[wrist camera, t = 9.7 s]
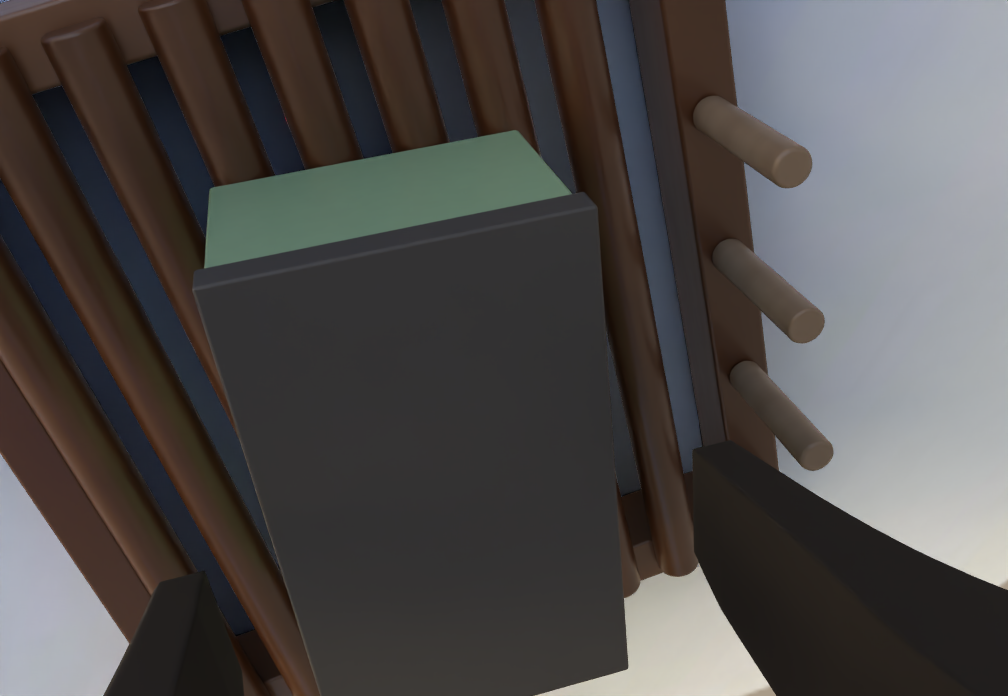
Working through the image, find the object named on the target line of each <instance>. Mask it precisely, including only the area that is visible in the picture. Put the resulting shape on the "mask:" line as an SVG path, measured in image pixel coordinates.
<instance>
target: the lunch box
mask: <svg viewBox="0 0 1008 696" xmlns="http://www.w3.org/2000/svg"><path fill="white" fill-rule="evenodd" d="M192 292H193V295H194V298H195V301H196V304H197V308H198V311H199V314H200V317H201V320H202V323H203V327H204V330H205V333H206V336H207V339H208V342H209V345H210V349H211V352H212V355H213V358H214V361H215V364H216V368H217V371H218V374H219V377H220V380H221V383H222V387H223V390H224V393H225V396H226V399H227V402H228V405H229V409H230V412H231V415H232V418H233V421H234V424H235V428H236V431H237V434H238V437H239V440H240V443H241V447H242V450H243V453H244V456H245V459H246V462H247V465H248V469H249V472H250V475H251V478H252V481H253V484H254V488H255V491H256V494H257V497H258V500H259V503H260V507H261V510H262V513H263V516H264V519H265V522H266V525H267V529H268V532H269V535H270V538H271V541H272V544H273V548H274V551H275V554H276V557H277V560H278V563H279V567H280V570H281V573H282V576H283V579H284V582H285V585H286V589H287V592H288V595H289V598H290V601H291V604H292V608H293V611H294V614H295V617H296V620H297V623H298V626H299V630H300V633H301V636H302V639H303V642H304V645H305V649H306V652H307V655H308V658H309V661H310V664H311V668H312V671H313V674H314V677H315V680H316V683H317V686H318V690H319V693H320V696H535V695H538V694H542V693H545V692H549V691H552V690H556V689H559V688H563V687H567V686H570V685H574V684H577V683H581V682H584V681H588V680H591V679H595V678H599V677H602V676H606V675H609V674H613V673H616V672H620V671H623V670H627V669H628V654H627V639H626V624H625V609H624V594H623V579H622V564H621V549H620V535H619V520H618V505H617V490H616V475H615V460H614V445H613V431H612V416H611V401H610V386H609V371H608V356H607V341H606V326H605V312H604V297H603V282H602V267H601V252H600V237H599V222H598V207H597V206H596V204H595V203H594V202H593V201H592V200H591V199H590V198H589V196H588V195H587V194H586V193H585V192H580V193H575V194H572V193H571V192H570V190H569V189H568V188H567V187H566V186H565V185H564V183H563V182H562V181H561V180H560V179H559V178H558V176H557V175H556V174H555V173H554V172H553V171H552V170H551V168H550V167H549V166H548V165H547V164H546V163H545V161H544V160H543V159H542V158H541V157H540V156H539V155H538V153H537V152H536V151H535V150H534V149H533V148H532V146H531V145H530V144H529V143H528V142H527V141H526V140H525V138H524V137H523V136H522V135H521V134H520V133H519V131H517V130H513V131H508V132H503V133H497V134H492V135H487V136H482V137H476V138H471V139H466V140H461V141H455V142H450V143H445V144H439V145H434V146H429V147H424V148H418V149H413V150H408V151H403V152H397V153H392V154H387V155H382V156H376V157H371V158H366V159H361V160H355V161H350V162H345V163H340V164H334V165H329V166H324V167H319V168H313V169H308V170H303V171H297V172H292V173H287V174H282V175H276V176H271V177H266V178H261V179H255V180H250V181H245V182H240V183H234V184H229V185H224V186H219V187H213V188H211V189H210V190H209V203H208V218H207V233H206V249H205V264H204V269H199V270H196V271H194V275H193V287H192Z"/></svg>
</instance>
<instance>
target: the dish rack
mask: <svg viewBox="0 0 1008 696" xmlns="http://www.w3.org/2000/svg"><path fill="white" fill-rule="evenodd" d="M332 1H335V0H9V1H6V2H3V3H0V179H1V181H2V182H3V184H4V186H5V188H6V190H7V191H8V193H9V195H10V197H11V198H12V200H13V202H14V204H15V205H16V207H17V209H18V211H19V213H20V214H21V216H22V218H23V220H24V221H25V223H26V225H27V227H28V228H29V230H30V232H31V234H32V236H33V237H34V239H35V241H36V243H37V244H38V246H39V248H40V250H41V251H42V253H43V255H44V257H45V258H46V260H47V262H48V264H49V266H50V267H51V269H52V271H53V273H54V274H55V276H56V278H57V280H58V281H59V283H60V285H61V287H62V289H63V290H64V292H65V294H66V296H67V297H68V299H69V301H70V303H71V304H72V306H73V308H74V310H75V311H76V313H77V315H78V317H79V319H80V320H81V322H82V324H83V326H84V327H85V329H86V331H87V333H88V334H89V336H90V338H91V340H92V342H93V343H94V345H95V347H96V349H97V350H98V352H99V354H100V356H101V357H102V359H103V361H104V363H105V364H106V366H107V368H108V370H109V372H110V373H111V375H112V377H113V379H114V380H115V382H116V384H117V386H118V387H119V389H120V391H121V393H122V395H123V396H124V398H125V400H126V402H127V403H128V405H129V407H130V409H131V410H132V412H133V414H134V416H135V418H136V419H137V421H138V423H139V425H140V426H141V428H142V430H143V432H144V433H145V435H146V437H147V439H148V440H149V442H150V444H151V446H152V448H153V449H154V451H155V453H156V455H157V456H158V458H159V460H160V462H161V463H162V465H163V467H164V469H165V471H166V472H167V474H168V476H169V478H170V479H171V481H172V483H173V485H174V486H175V488H176V490H177V492H178V493H179V495H180V497H181V499H182V501H183V502H184V504H185V506H186V508H187V509H188V511H189V513H190V515H191V516H192V518H193V520H194V522H195V524H196V525H197V527H198V529H199V531H200V532H201V534H202V536H203V538H204V539H205V541H206V543H207V545H208V546H209V548H210V550H211V552H212V554H213V555H214V557H215V559H216V561H217V562H218V564H219V566H220V568H221V569H222V571H223V573H224V575H225V577H226V578H227V580H228V582H229V584H230V585H231V587H232V589H233V591H234V592H235V594H236V596H237V598H238V600H239V601H240V603H241V605H242V607H243V608H244V610H245V612H246V614H247V615H248V617H249V619H250V621H251V622H252V624H253V626H254V628H255V630H252V631H250V632H247V633H244V634H241V635H238V636H235V634H234V632H233V631H232V629H231V627H230V626H229V624H228V622H227V621H226V619H225V617H224V615H223V614H222V612H221V610H220V609H219V611H220V614H221V616H222V619H223V622H224V624H225V627H226V630H227V632H228V635H229V638H230V640H231V643H232V646H233V648H234V651H235V654H236V657H237V659H238V662H239V665H240V667H241V670H242V676H243V687H244V696H320V693H319V690H318V686H317V683H316V680H315V677H314V674H313V671H312V668H311V664H310V661H309V658H308V655H307V652H306V649H305V645H304V642H303V639H302V636H301V633H300V630H299V626H298V623H297V620H296V617H295V614H294V611H293V608H292V604H291V601H290V598H289V595H288V592H287V589H286V585H285V582H284V579H283V576H282V574H281V572H280V570H279V569H278V567H277V565H276V563H275V561H274V559H273V557H272V555H271V553H270V551H269V549H268V547H267V545H266V544H265V542H264V540H263V538H262V536H261V534H260V532H259V530H258V528H257V526H256V524H255V522H254V520H253V519H252V517H251V515H250V513H249V511H248V509H247V507H246V505H245V503H244V501H243V499H242V497H241V495H240V494H239V492H238V490H237V488H236V486H235V484H234V482H233V480H232V478H231V476H230V474H229V472H228V470H227V469H226V467H225V465H224V463H223V461H222V459H221V457H220V455H219V453H218V451H217V449H216V447H215V445H214V444H213V442H212V440H211V438H210V436H209V434H208V432H207V430H206V428H205V426H204V424H203V422H202V421H201V419H200V417H199V415H198V413H197V411H196V409H195V407H194V405H193V403H192V401H191V399H190V397H189V396H188V394H187V392H186V390H185V388H184V386H183V384H182V382H181V380H180V378H179V376H178V374H177V372H176V371H175V369H174V367H173V365H172V363H171V361H170V359H169V357H168V355H167V353H166V351H165V349H164V347H163V346H162V344H161V342H160V340H159V338H158V336H157V334H156V332H155V330H154V328H153V326H152V324H151V322H150V321H149V319H148V317H147V315H146V313H145V311H144V309H143V307H142V305H141V303H140V301H139V299H138V298H137V296H136V294H135V292H134V290H133V288H132V286H131V284H130V282H129V280H128V278H127V276H126V274H125V273H124V271H123V269H122V267H121V265H120V263H119V261H118V259H117V257H116V255H115V253H114V251H113V249H112V248H111V246H110V244H109V242H108V240H107V238H106V236H105V234H104V232H103V230H102V228H101V226H100V224H99V223H98V221H97V219H96V217H95V215H94V213H93V211H92V209H91V207H90V205H89V203H88V201H87V199H86V198H85V196H84V194H83V192H82V190H81V188H80V186H79V184H78V182H77V180H76V178H75V176H74V174H73V173H72V171H71V169H70V167H69V165H68V163H67V161H66V159H65V157H64V155H63V153H62V151H61V150H60V148H59V146H58V144H57V142H56V140H55V138H54V136H53V134H52V132H51V130H50V128H49V126H48V125H47V123H46V121H45V119H44V117H43V115H42V113H41V111H40V109H39V107H38V105H37V103H36V101H35V100H34V98H33V96H32V95H33V94H36V93H39V92H42V91H45V90H49V89H52V88H55V87H58V86H62V87H63V89H64V91H65V93H66V95H67V97H68V99H69V101H70V103H71V105H72V107H73V109H74V111H75V113H76V115H77V117H78V119H79V121H80V123H81V125H82V127H83V129H84V131H85V133H86V135H87V137H88V139H89V141H90V143H91V145H92V147H93V149H94V151H95V153H96V155H97V157H98V159H99V161H100V163H101V165H102V167H103V169H104V171H105V173H106V175H107V177H108V179H109V181H110V183H111V185H112V187H113V189H114V191H115V193H116V195H117V197H118V199H119V201H120V203H121V205H122V207H123V209H124V211H125V213H126V215H127V217H128V219H129V221H130V223H131V225H132V227H133V229H134V231H135V233H136V235H137V237H138V239H139V241H140V243H141V245H142V247H143V249H144V251H145V253H146V255H147V257H148V259H149V261H150V263H151V265H152V267H153V269H154V271H155V273H156V275H157V277H158V279H159V281H160V283H161V285H162V287H163V289H164V291H165V293H166V295H167V297H168V299H169V301H170V303H171V305H172V307H173V309H174V311H175V313H176V315H177V317H178V319H179V321H180V323H181V325H182V327H183V329H184V331H185V333H186V335H187V337H188V339H189V341H190V343H191V345H192V347H193V349H194V351H195V353H196V355H197V357H198V359H199V361H200V363H201V365H202V367H203V369H204V371H205V373H206V375H207V377H208V379H209V381H210V383H211V385H212V387H213V389H214V391H215V393H216V395H217V397H218V399H219V401H220V403H221V405H222V406H223V408H224V410H225V412H226V414H227V416H228V418H229V420H230V422H231V424H232V426H233V428H234V430H235V432H236V434H237V431H236V428H235V424H234V421H233V418H232V415H231V412H230V409H229V405H228V402H227V399H226V396H225V393H224V390H223V387H222V383H221V380H220V377H219V374H218V371H217V368H216V364H215V361H214V358H213V355H212V352H211V349H210V345H209V342H208V339H207V336H206V333H205V330H204V327H203V323H202V320H201V317H200V314H199V311H198V308H197V304H196V301H195V298H194V295H193V292H192V287H193V275H194V271H196V270H199V269H204V264H205V249H206V238H205V235H204V233H203V231H202V229H201V227H200V224H199V222H198V220H197V218H196V216H195V214H194V211H193V209H192V207H191V205H190V203H189V200H188V198H187V196H186V194H185V192H184V189H183V187H182V185H181V183H180V181H179V179H178V176H177V174H176V172H175V170H174V168H173V165H172V163H171V161H170V159H169V157H168V155H167V152H166V150H165V148H164V146H163V144H162V141H161V139H160V137H159V135H158V133H157V131H156V128H155V126H154V124H153V122H152V120H151V117H150V115H149V113H148V111H147V109H146V107H145V104H144V102H143V100H142V98H141V96H140V93H139V91H138V89H137V87H136V85H135V82H134V80H133V78H132V76H131V74H130V72H129V69H128V67H127V65H129V64H132V63H136V62H139V61H142V60H145V59H149V58H152V57H155V56H158V59H159V61H160V63H161V65H162V68H163V70H164V72H165V75H166V77H167V79H168V81H169V84H170V86H171V88H172V91H173V93H174V95H175V97H176V100H177V102H178V104H179V107H180V109H181V111H182V113H183V116H184V118H185V120H186V123H187V125H188V127H189V129H190V132H191V134H192V136H193V139H194V141H195V143H196V145H197V148H198V150H199V152H200V154H201V157H202V159H203V161H204V164H205V166H206V168H207V170H208V173H209V175H210V177H211V180H212V182H213V184H214V186H215V187H219V186H224V185H229V184H234V183H240V182H245V181H250V180H255V179H261V178H266V177H271V176H276V175H275V173H274V170H273V168H272V165H271V163H270V160H269V158H268V155H267V153H266V150H265V148H264V145H263V143H262V140H261V138H260V135H259V133H258V130H257V128H256V125H255V123H254V120H253V118H252V115H251V113H250V110H249V108H248V105H247V103H246V100H245V98H244V95H243V93H242V90H241V88H240V85H239V83H238V80H237V78H236V75H235V73H234V70H233V68H232V65H231V62H230V60H229V57H228V55H227V52H226V50H225V47H224V45H223V42H222V40H221V37H220V36H223V35H226V34H229V33H232V32H236V31H239V30H242V29H245V28H248V27H251V28H252V31H253V34H254V36H255V39H256V41H257V44H258V47H259V49H260V52H261V55H262V57H263V60H264V63H265V65H266V68H267V70H268V73H269V76H270V78H271V81H272V84H273V86H274V89H275V92H276V94H277V97H278V99H279V102H280V105H281V107H282V110H283V113H284V115H285V118H286V121H287V123H288V126H289V128H290V131H291V134H292V136H293V139H294V142H295V144H296V147H297V150H298V152H299V155H300V157H301V160H302V163H303V165H304V168H305V170H308V169H313V168H319V167H324V166H329V165H334V164H340V163H345V162H350V161H355V160H361V159H364V158H363V155H362V152H361V149H360V146H359V143H358V140H357V137H356V134H355V131H354V128H353V125H352V122H351V119H350V117H349V114H348V111H347V108H346V105H345V102H344V99H343V96H342V93H341V90H340V87H339V84H338V81H337V78H336V76H335V73H334V70H333V67H332V64H331V61H330V58H329V55H328V52H327V49H326V46H325V43H324V40H323V37H322V35H321V32H320V29H319V26H318V23H317V20H316V17H315V14H314V11H313V7H316V6H319V5H323V4H326V3H329V2H332ZM441 2H442V6H443V9H444V13H445V17H446V21H447V24H448V28H449V32H450V35H451V39H452V43H453V47H454V50H455V54H456V58H457V61H458V65H459V69H460V73H461V76H462V80H463V84H464V87H465V91H466V95H467V98H468V102H469V106H470V110H471V113H472V117H473V121H474V124H475V128H476V132H477V136H478V137H482V136H487V135H492V134H497V133H503V132H508V131H513V130H517V131H519V133H520V134H521V135H522V136H523V137H524V138H525V140H526V141H527V142H528V143H529V144H530V145H531V146H532V148H533V149H534V150H535V151H536V152H537V153H538V155H539V156H540V157H541V153H540V149H539V145H538V140H537V136H536V132H535V128H534V123H533V119H532V115H531V110H530V106H529V102H528V98H527V93H526V89H525V85H524V81H523V76H522V72H521V68H520V64H519V59H518V55H517V51H516V47H515V42H514V38H513V34H512V30H511V25H510V21H509V17H508V13H507V8H506V4H505V0H441ZM534 2H535V7H536V12H537V16H538V21H539V25H540V30H541V34H542V39H543V43H544V48H545V53H546V57H547V62H548V66H549V71H550V75H551V80H552V85H553V89H554V94H555V98H556V103H557V107H558V112H559V117H560V121H561V126H562V130H563V135H564V139H565V144H566V149H567V153H568V158H569V162H570V167H571V171H572V176H573V181H574V185H575V190H576V193H580V192H585V193H586V194H587V195H588V196H589V198H590V199H591V200H592V201H593V202H594V203H595V204H596V206H597V207H598V222H599V237H600V252H601V267H602V282H603V297H604V312H605V326H606V331H607V336H608V340H609V345H610V350H611V354H612V359H613V363H614V368H615V372H616V377H617V382H618V386H619V391H620V395H621V400H622V404H623V409H624V414H625V418H626V423H627V427H628V432H629V436H630V441H631V446H632V450H633V455H634V459H635V464H636V468H637V473H638V478H639V482H640V487H641V490H639V491H636V492H633V493H630V494H628V495H625V496H622V497H621V494H620V489H619V485H618V481H617V476H616V490H617V505H618V520H619V535H620V549H621V564H622V579H623V594H624V598H626V597H629V596H631V595H632V594H634V593H635V592H636V591H637V589H638V588H639V585H640V581H641V580H644V579H647V578H649V577H652V576H655V575H657V574H660V573H663V572H664V573H665V574H667V575H669V576H674V577H680V576H685V575H687V574H689V573H691V572H693V571H694V570H695V568H696V567H697V565H698V563H699V562H698V559H697V557H696V555H695V553H694V526H693V471H691V472H688V473H685V474H684V473H683V468H682V462H681V457H680V452H679V446H678V441H677V435H676V430H675V425H674V419H673V414H672V408H671V403H670V397H669V392H668V387H667V381H666V376H665V370H664V365H663V360H662V354H661V349H660V343H659V338H658V333H657V327H656V322H655V316H654V311H653V306H652V300H651V295H650V289H649V284H648V279H647V273H646V268H645V262H644V257H643V252H642V246H641V241H640V235H639V230H638V225H637V219H636V214H635V208H634V203H633V197H632V192H631V187H630V181H629V176H628V170H627V165H626V160H625V154H624V149H623V143H622V138H621V133H620V127H619V122H618V116H617V111H616V106H615V100H614V95H613V89H612V84H611V79H610V73H609V68H608V62H607V57H606V52H605V46H604V41H603V35H602V30H601V24H600V19H599V14H598V8H597V3H596V0H534ZM344 4H345V7H346V10H347V13H348V16H349V19H350V22H351V25H352V28H353V31H354V35H355V38H356V41H357V44H358V47H359V50H360V53H361V56H362V59H363V62H364V65H365V69H366V72H367V75H368V78H369V81H370V84H371V87H372V90H373V93H374V96H375V100H376V103H377V106H378V109H379V112H380V115H381V118H382V121H383V124H384V127H385V130H386V134H387V137H388V140H389V143H390V146H391V149H392V152H393V153H397V152H403V151H408V150H413V149H418V148H424V147H429V146H434V145H439V144H445V143H450V140H449V137H448V133H447V130H446V126H445V123H444V119H443V116H442V112H441V109H440V105H439V102H438V98H437V95H436V91H435V88H434V85H433V81H432V78H431V74H430V71H429V67H428V64H427V60H426V57H425V53H424V50H423V46H422V43H421V39H420V36H419V32H418V29H417V25H416V22H415V18H414V15H413V11H412V8H411V4H410V1H409V0H344ZM629 4H630V10H631V16H632V22H633V28H634V34H635V40H636V46H637V52H638V58H639V64H640V70H641V76H642V82H643V88H644V94H645V100H646V106H647V112H648V118H649V124H650V130H651V136H652V142H653V148H654V154H655V160H656V166H657V172H658V178H659V184H660V190H661V196H662V201H663V207H664V213H665V219H666V225H667V231H668V237H669V243H670V249H671V255H672V261H673V267H674V273H675V279H676V285H677V291H678V297H679V303H680V309H681V315H682V321H683V327H684V333H685V339H686V345H687V351H688V357H689V363H690V369H691V375H692V381H693V387H694V393H695V399H696V405H697V411H698V417H699V423H700V429H701V435H702V441H703V447H704V446H708V445H712V444H716V443H720V442H724V441H728V440H731V441H733V442H735V443H736V444H738V445H739V446H741V447H743V448H744V449H746V450H747V451H749V452H750V453H752V454H754V455H755V456H757V457H758V458H760V459H761V460H763V461H764V462H766V463H767V464H769V465H770V466H772V467H774V468H775V469H777V470H778V471H779V467H778V458H777V450H776V441H775V436H776V437H777V438H778V439H779V441H780V442H781V443H782V444H783V445H784V446H785V448H786V449H787V450H788V451H789V452H790V453H791V455H792V456H793V457H794V458H795V459H796V460H797V462H798V463H799V464H800V465H801V466H802V467H803V468H804V469H807V470H810V471H815V470H819V469H821V468H823V467H824V466H826V465H827V464H828V463H829V462H830V460H831V459H832V456H833V447H832V444H831V443H830V442H829V441H828V440H827V439H826V438H825V436H824V435H823V434H822V433H821V432H820V431H819V430H818V429H817V428H816V427H815V426H814V425H813V424H812V423H811V421H810V420H809V419H808V418H807V417H806V416H805V415H804V414H803V413H802V412H801V411H800V410H799V409H798V408H797V406H796V405H795V404H794V403H793V402H792V401H791V400H790V399H789V398H788V397H787V396H786V395H785V394H784V393H783V391H782V390H781V389H780V388H779V387H778V386H777V385H776V384H775V383H774V382H773V381H772V380H771V379H770V377H769V376H768V371H767V362H766V353H765V345H764V336H763V327H762V318H761V311H762V312H763V313H764V314H765V315H766V316H767V317H768V318H769V319H770V320H771V321H772V322H773V323H774V324H775V325H776V326H777V327H778V328H779V329H780V330H781V331H782V332H784V333H785V334H786V335H787V336H788V337H789V338H790V339H791V340H792V341H794V342H796V343H807V342H810V341H812V340H814V339H815V338H816V337H817V336H818V335H819V334H820V333H821V331H822V330H823V327H824V323H825V320H824V315H823V313H822V312H821V311H820V310H819V309H818V308H817V307H816V306H814V305H813V304H812V303H811V302H810V301H809V300H807V299H806V298H805V297H804V296H803V295H802V294H801V293H799V292H798V291H797V290H796V289H795V288H794V287H792V286H791V285H790V284H789V283H788V282H787V281H786V280H784V279H783V278H782V277H781V276H780V275H779V274H777V273H776V272H775V271H774V270H773V269H772V268H771V267H769V266H768V265H767V264H766V263H765V262H764V261H762V260H761V259H760V258H759V257H758V256H757V255H756V254H754V248H753V240H752V231H751V222H750V214H749V205H748V196H747V187H746V179H745V170H744V162H745V163H746V164H747V165H749V166H750V167H752V168H753V169H755V170H756V171H757V172H759V173H760V174H762V175H763V176H765V177H766V178H767V179H769V180H770V181H772V182H773V183H774V184H776V185H777V186H779V187H781V188H793V187H796V186H798V185H800V184H801V183H803V182H804V181H805V180H806V179H807V177H808V176H809V174H810V172H811V169H812V158H811V155H810V153H809V151H808V150H807V149H806V148H804V147H803V146H801V145H799V144H798V143H796V142H794V141H793V140H791V139H789V138H788V137H786V136H784V135H783V134H781V133H779V132H778V131H776V130H774V129H773V128H771V127H769V126H768V125H766V124H765V123H763V122H761V121H760V120H758V119H756V118H755V117H753V116H751V115H750V114H748V113H746V112H745V111H743V110H741V109H740V108H738V107H737V100H736V91H735V82H734V74H733V65H732V56H731V47H730V39H729V30H728V21H727V12H726V4H725V0H629ZM541 158H542V157H541ZM237 436H238V434H237ZM238 438H239V437H238ZM0 454H1V455H2V457H3V458H4V459H5V461H6V462H7V464H8V465H9V467H10V468H11V470H12V471H13V473H14V474H15V476H16V477H17V479H18V480H19V482H20V483H21V485H22V486H23V487H24V489H25V490H26V492H27V493H28V495H29V496H30V498H31V499H32V501H33V502H34V504H35V505H36V507H37V508H38V510H39V511H40V512H41V514H42V515H43V517H44V518H45V520H46V521H47V523H48V524H49V526H50V527H51V529H52V530H53V532H54V533H55V535H56V536H57V538H58V539H59V540H60V542H61V543H62V545H63V546H64V548H65V549H66V551H67V552H68V554H69V555H70V557H71V558H72V560H73V561H74V563H75V564H76V566H77V567H78V568H79V570H80V571H81V573H82V574H83V576H84V577H85V579H86V580H87V582H88V583H89V585H90V586H91V588H92V589H93V591H94V592H95V593H96V595H97V596H98V598H99V599H100V601H101V602H102V604H103V605H104V607H105V608H106V610H107V611H108V613H109V614H110V616H111V617H112V619H113V620H114V621H115V623H116V624H117V626H118V627H119V629H120V630H121V632H122V633H123V635H124V636H125V638H126V639H127V641H128V642H129V644H130V642H131V640H132V638H133V635H134V633H135V631H136V629H137V627H138V625H139V622H140V620H141V618H142V616H143V614H144V611H145V609H146V607H147V605H148V602H149V600H150V598H151V596H152V593H153V591H154V589H155V588H156V587H157V585H158V584H159V582H161V581H165V580H169V579H173V578H177V577H181V576H185V575H190V574H194V573H198V571H197V569H196V568H195V566H194V564H193V562H192V561H191V559H190V557H189V556H188V554H187V552H186V551H185V549H184V547H183V545H182V544H181V542H180V540H179V539H178V537H177V535H176V533H175V532H174V530H173V528H172V527H171V525H170V523H169V521H168V520H167V518H166V516H165V515H164V513H163V511H162V510H161V508H160V506H159V504H158V503H157V501H156V499H155V498H154V496H153V494H152V492H151V491H150V489H149V487H148V486H147V484H146V482H145V481H144V479H143V477H142V475H141V474H140V472H139V470H138V469H137V467H136V465H135V463H134V462H133V460H132V458H131V457H130V455H129V453H128V451H127V450H126V448H125V446H124V445H123V443H122V441H121V440H120V438H119V436H118V434H117V433H116V431H115V429H114V428H113V426H112V424H111V422H110V421H109V419H108V417H107V416H106V414H105V412H104V411H103V409H102V407H101V405H100V404H99V402H98V400H97V399H96V397H95V395H94V393H93V392H92V390H91V388H90V387H89V385H88V383H87V381H86V380H85V378H84V376H83V375H82V373H81V371H80V370H79V368H78V366H77V364H76V363H75V361H74V359H73V358H72V356H71V354H70V352H69V351H68V349H67V347H66V346H65V344H64V342H63V341H62V339H61V337H60V335H59V334H58V332H57V330H56V329H55V327H54V325H53V323H52V322H51V320H50V318H49V317H48V315H47V313H46V311H45V310H44V308H43V306H42V305H41V303H40V301H39V300H38V298H37V296H36V294H35V293H34V291H33V289H32V288H31V286H30V284H29V282H28V281H27V279H26V277H25V276H24V274H23V272H22V271H21V269H20V267H19V265H18V264H17V262H16V260H15V259H14V257H13V255H12V253H11V252H10V250H9V248H8V247H7V245H6V243H5V241H4V240H3V238H2V236H1V235H0ZM615 475H616V472H615ZM217 606H218V605H217ZM218 608H219V607H218Z"/></svg>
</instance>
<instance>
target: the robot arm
mask: <svg viewBox="0 0 1008 696" xmlns="http://www.w3.org/2000/svg"><path fill="white" fill-rule="evenodd" d="M692 458H693V526H694V553H695V555H696V557H697V559H698V562H699V564H700V566H701V568H702V570H703V573H704V575H705V577H706V579H707V581H708V583H709V585H710V587H711V589H712V592H713V594H714V596H715V598H716V600H717V602H718V604H719V606H720V608H721V610H722V611H723V613H724V615H725V616H726V618H727V619H728V621H729V623H730V624H731V626H732V627H733V629H734V631H735V632H736V634H737V635H738V637H739V638H740V640H741V642H742V643H743V645H744V646H745V648H746V649H747V651H748V652H749V654H750V656H751V657H752V659H753V660H754V662H755V663H756V665H757V666H758V668H759V669H760V671H761V673H762V674H763V676H764V677H765V679H766V680H767V682H768V683H769V685H770V686H771V688H772V690H773V691H774V693H775V694H776V696H1008V590H1006V589H1003V588H1001V587H998V586H996V585H993V584H991V583H988V582H986V581H983V580H981V579H978V578H976V577H974V576H971V575H969V574H967V573H965V572H962V571H960V570H958V569H956V568H953V567H951V566H949V565H947V564H944V563H942V562H940V561H938V560H935V559H933V558H931V557H929V556H927V555H925V554H923V553H921V552H919V551H916V550H914V549H912V548H910V547H908V546H906V545H905V544H903V543H901V542H899V541H897V540H895V539H893V538H891V537H889V536H888V535H886V534H884V533H882V532H880V531H878V530H876V529H874V528H872V527H871V526H869V525H867V524H865V523H864V522H862V521H860V520H858V519H856V518H855V517H853V516H851V515H849V514H848V513H846V512H844V511H843V510H841V509H839V508H838V507H836V506H834V505H832V504H831V503H829V502H828V501H826V500H824V499H823V498H821V497H819V496H818V495H816V494H814V493H813V492H811V491H810V490H808V489H806V488H805V487H803V486H802V485H800V484H798V483H797V482H795V481H794V480H792V479H791V478H789V477H788V476H786V475H784V474H783V473H781V472H780V471H778V470H777V469H775V468H774V467H772V466H770V465H769V464H767V463H766V462H764V461H763V460H761V459H760V458H758V457H757V456H755V455H754V454H752V453H750V452H749V451H747V450H746V449H744V448H743V447H741V446H739V445H738V444H736V443H735V442H733V441H731V440H728V441H724V442H720V443H716V444H712V445H708V446H704V447H700V448H696V449H692ZM103 696H244V687H243V676H242V670H241V667H240V665H239V662H238V659H237V657H236V654H235V651H234V648H233V646H232V643H231V640H230V638H229V635H228V632H227V630H226V627H225V624H224V622H223V619H222V616H221V614H220V611H219V608H218V606H217V603H216V600H215V598H214V595H213V592H212V590H211V587H210V584H209V581H208V579H207V576H206V573H205V571H202V572H198V573H194V574H190V575H185V576H181V577H177V578H173V579H169V580H165V581H161V582H159V584H158V585H157V587H156V588H155V589H154V591H153V593H152V596H151V598H150V600H149V602H148V605H147V607H146V609H145V611H144V614H143V616H142V618H141V620H140V622H139V625H138V627H137V629H136V631H135V633H134V635H133V638H132V640H131V642H130V644H129V646H128V648H127V650H126V652H125V654H124V656H123V658H122V660H121V662H120V664H119V666H118V668H117V670H116V672H115V674H114V676H113V678H112V680H111V682H110V684H109V686H108V688H107V690H106V691H105V693H104V695H103Z"/></svg>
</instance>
